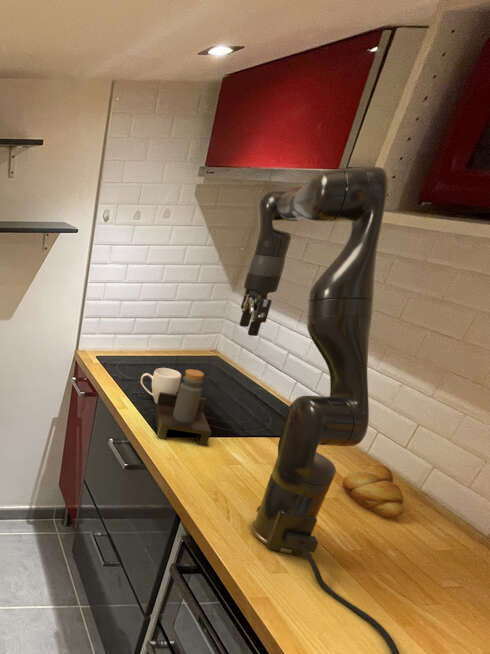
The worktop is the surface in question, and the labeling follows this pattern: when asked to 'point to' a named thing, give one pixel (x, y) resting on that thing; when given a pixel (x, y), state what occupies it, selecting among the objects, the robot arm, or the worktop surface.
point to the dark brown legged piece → (167, 421)
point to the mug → (163, 382)
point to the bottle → (188, 396)
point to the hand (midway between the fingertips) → (247, 330)
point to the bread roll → (375, 490)
